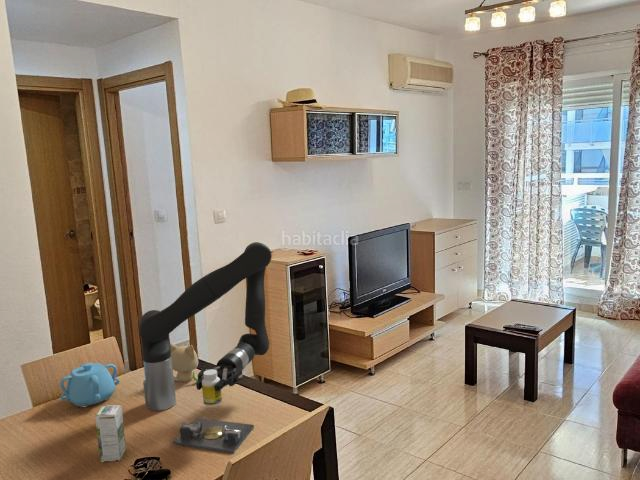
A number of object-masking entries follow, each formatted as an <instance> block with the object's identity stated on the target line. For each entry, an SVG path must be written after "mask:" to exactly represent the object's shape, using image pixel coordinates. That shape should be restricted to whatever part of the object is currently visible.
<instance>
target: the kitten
mask: <svg viewBox="0 0 640 480" xmlns="http://www.w3.org/2000/svg"><path fill="white" fill-rule="evenodd" d="M170 348H171V359H172V368H173V371H175V372H177V373H176V376H174V375H173V377H174V382H182V383H186V382H190V381H192V380H194V381H195V382H196V383H197V382H198V378H196V377H195V371H194V370H196V369H197V367H198V365H199V358H198V354H197V352H196V351H195V349H194V346H193V344H190V345H179V346H177V345H175V344H174V343H171V342H170Z"/></svg>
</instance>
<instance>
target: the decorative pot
mask: <svg viewBox="0 0 640 480" xmlns="http://www.w3.org/2000/svg"><path fill="white" fill-rule="evenodd" d="M108 368H112V369H113V374H112V375H111V373H110V372H109V370H108ZM117 371H118V369H117V366H116V365H115V364H113V363H107V364H105V365H103V364H102V363H100V362H94V363H92V362H85V363H83V364H81V365H79V367H76V368H74V369H72V371H71V372H70V374H69V375H66V376H64V377H63V378H61V380H60V381H59V386H60V388H61V390H62V392H63V393H62V394H61V395H60V400H61V401H63V402H67V401H70V403H72V404H73V405H74V406H76V407H81V406H87V405H89V406H90V405H94V404H97V403H101V402H104V401H103V400H106V399H108V400H109V398H110V397H112V396H113V394H114V393H115V390H116V386H118V385H119V384H120V379H119V377H117ZM65 381H67V383H66V384H67V385H66V387H65V386H64V383H65ZM64 396H65V397H64ZM106 401H107V400H106Z"/></svg>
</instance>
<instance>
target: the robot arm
mask: <svg viewBox="0 0 640 480" xmlns="http://www.w3.org/2000/svg"><path fill="white" fill-rule="evenodd" d="M271 261H272V251H271V249H270V248H269V246H267V245H266V244H264V243H261V242H257V241H256V242H251V243H250V244H248V245H247V246H246V247H245V249H244V251H243V252H242V253H241V254H240V255H239V256H238V257H236V258H235V259H234V260H232V261H231V262H230V263H227V264H226V265H223V266H221V267H219V268H217V269H215V270H213V271H210V272H209V273H207V274H205V275H204V276H202V277H200V279H198V280H196V281H195V282H194V283H192V284H191V285H189V287H188V288H186V289H185V291H183V292H182V293H181V294H180V295H179V297H178V298H176V300H175V301H173V303H171V304H170V305H168V306H167V307H165V308H163V309H162V310H159V309H158V310H157V309H154V310H153V309H152V310H148V311H146V312H144V313H143V314H142V316H141V318H140V320H139V324H138V325H139V326H138V333H139V336H140V340H141V349H142V350H141V354H142V362H143V369H144V380H143V382H142V384H143V392H144V400H145V407H146V408H149V410H150V411H155V412H156V411H158V412H159V411H165V410H169V409H170V408H172V407H174V406H175V405H176V404H177V398H176V388H175V381H174V377H175V376H174V370H173V368H172V359H171V348H170V343H171V339H170V334H171V333H172V332H173V331H174V330H175V329H177V328H178V327H179V326H180V325H181V324H182V323H184V322H185V321H187V320H188V319H190V318H192V317H194V316H195V315H196V314H199V312H201V311H202V310H204V309H206V308H207V307H209V306H210V305H212V304H213V303H215V302H216V301H218V300H219V299H220V298H222V297H223V296H225V295H226V294H227V293H228V292H230V291H232V289H234V287H236V286H238V284H239V283H241V282H242V281H244V280H245V279H246V296H245V309H244V313H245V315H244V325H245V326H246V327H247V328H249V329H250V330H251V329H252V330H253V331H254V332H255V333H245V334H242V335H241V336H240V338H239V340H238V343H237V345H236V346H235V347H234V348H232V349H231V350H230V351H229V352H227V353H226V354H225V355H223V356H222V357H221V358H220V359H219V360H218V361H217V362H216V365H215V366H214V367H212V368H211V369H214V370H216V371H217V377H219V378H220V381H219V382H217V383H216V384H215V392H218V391H219V390H221V391H222V389H223V388H225V387H227V386H229V387H233V386H235V385H236V384H238V383H239V382H240V381H242V380H243V379H244V377H243V376H244V375H243V371H245V370H244V369H246V367H247V365H249V364H250V363H251V362H252V361H253V359H254V358H255V356H264V355H266V354H267V353H268V351H269V349H270V341H269V336H268V331H267V327H266V295H265V274H266V268H267V267H268V265H270V263H271ZM206 370H208V369H207V367H202V369H200V371H199V372H198V374H197V380H198V382H196V383H195V385H196V386H195V388H196V390H197V391H200V390H202V380H203V379H204V375H203V373H204V371H206ZM173 376H174V377H173Z"/></svg>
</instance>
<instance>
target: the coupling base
mask: <svg viewBox="0 0 640 480" xmlns="http://www.w3.org/2000/svg"><path fill="white" fill-rule="evenodd" d="M254 428H255V425H254V424H252V423H251V424H250V423H241V422H234V421H225V420H218V419H210V418H209V419H208V418H202V417H201V418H200V417H196V419H195V420H193V422H192V423H191V422H190V423H189V422H181V424H180V426H179V435H178V436H177V437H176V438H175V439H174V440H173V441H172V444H173V446H179V447H187V448H194V449H201V450H208V451H215V452H219V453H220V452H222V453H227V454H235V452H236V451H237V450H238V449H239V448H240V446H241V445H242V444H243V443H244V442H245V440H246V439H247V438H248V436H250V434H251V432H252V431H253V430H254Z"/></svg>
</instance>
